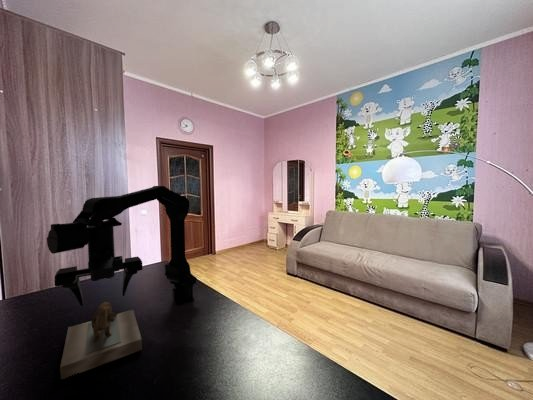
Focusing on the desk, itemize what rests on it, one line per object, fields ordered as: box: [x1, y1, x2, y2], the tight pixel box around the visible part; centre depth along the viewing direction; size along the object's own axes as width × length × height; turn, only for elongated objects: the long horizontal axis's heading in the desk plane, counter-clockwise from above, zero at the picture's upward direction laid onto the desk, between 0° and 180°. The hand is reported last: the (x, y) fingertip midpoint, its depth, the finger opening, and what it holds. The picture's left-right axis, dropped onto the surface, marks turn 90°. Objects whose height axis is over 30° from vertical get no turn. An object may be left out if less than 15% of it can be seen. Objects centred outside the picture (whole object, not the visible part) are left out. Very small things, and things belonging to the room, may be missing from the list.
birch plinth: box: [59, 309, 143, 380], centre depth 63 cm, size 16×18×3 cm
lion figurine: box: [91, 301, 118, 342], centre depth 63 cm, size 15×5×9 cm, turn 39°
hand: (103, 300), depth 63 cm, fingers open, 9 cm apart
